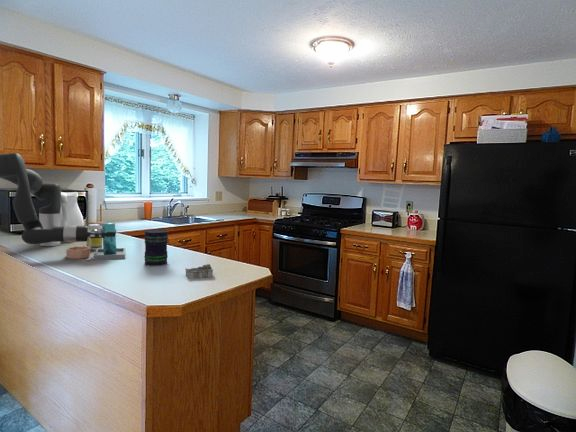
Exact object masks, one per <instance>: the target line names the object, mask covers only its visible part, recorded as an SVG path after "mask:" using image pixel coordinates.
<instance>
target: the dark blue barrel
mask: <svg viewBox="0 0 576 432" xmlns="http://www.w3.org/2000/svg"><path fill="white" fill-rule="evenodd" d="M168 235H169V234H168V230H166V229H147V230H144V245H145V247H144V248H145V249H144V250H145V251H144V256H143V257H144V265H145V266H148V265H149V267H161V266H165V265H168V241H169V240H168V239H169V237H168Z"/></svg>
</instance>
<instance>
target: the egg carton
mask: <svg viewBox="0 0 576 432" xmlns="http://www.w3.org/2000/svg"><path fill="white" fill-rule="evenodd" d="M213 275H214V269H213V268H212V266H211V264H210V263H209V264H208V263H207V264H203V265H202V266H198V267H191V268H185V276H186V278H187V279H195V278H198V279H202V278H204V277H205V278H211V277H213Z"/></svg>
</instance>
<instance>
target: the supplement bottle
mask: <svg viewBox="0 0 576 432" xmlns="http://www.w3.org/2000/svg"><path fill="white" fill-rule="evenodd" d="M87 226H88V230H93V229H101V225H100V224H98V223H95V224H93V223H91V224H88V225H87ZM86 247H90V251H96V249H103V238H92V239H91V238H90V237H88V241H86Z"/></svg>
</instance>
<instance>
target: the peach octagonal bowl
mask: <svg viewBox="0 0 576 432" xmlns="http://www.w3.org/2000/svg"><path fill="white" fill-rule="evenodd" d="M65 253H66V258H67V259H71V260H72V259H74V260H75V259H77V260H78V259H85V258H89V257H90V256H91V250H90V247H87V245H86V246H83V245H81V246H80V245H79V246H71V247H66V251H65Z"/></svg>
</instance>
